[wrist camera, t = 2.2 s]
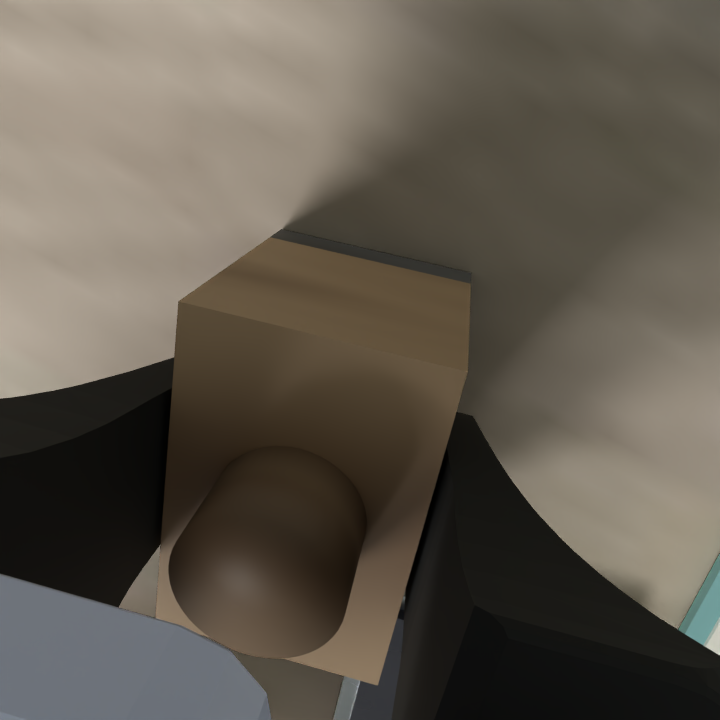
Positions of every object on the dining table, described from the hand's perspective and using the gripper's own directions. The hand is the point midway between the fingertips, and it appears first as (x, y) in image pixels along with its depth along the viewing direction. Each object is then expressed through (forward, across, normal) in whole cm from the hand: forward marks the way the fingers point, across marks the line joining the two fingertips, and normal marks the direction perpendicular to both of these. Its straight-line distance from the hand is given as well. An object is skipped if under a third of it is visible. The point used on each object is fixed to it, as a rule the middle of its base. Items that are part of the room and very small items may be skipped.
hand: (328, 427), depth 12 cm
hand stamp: (+2, 0, 0) cm, 2 cm away
